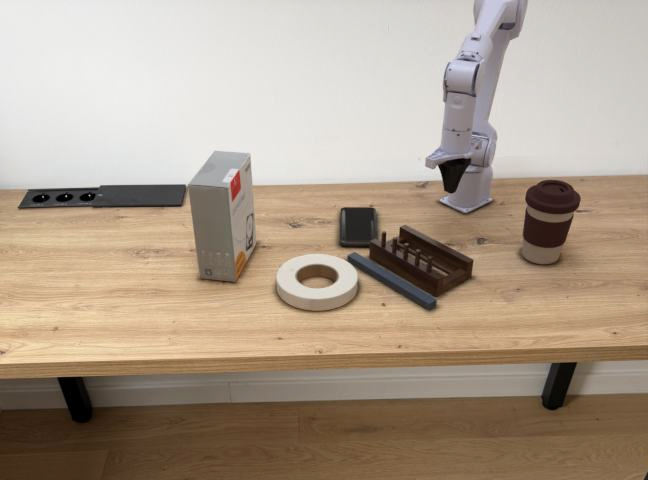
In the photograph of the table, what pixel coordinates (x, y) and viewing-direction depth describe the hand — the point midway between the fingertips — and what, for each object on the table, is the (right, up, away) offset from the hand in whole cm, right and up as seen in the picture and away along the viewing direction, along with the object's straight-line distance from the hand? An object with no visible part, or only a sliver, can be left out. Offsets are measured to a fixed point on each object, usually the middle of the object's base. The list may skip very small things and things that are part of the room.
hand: (449, 191), depth 139 cm
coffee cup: (+18, -14, -2) cm, 22 cm away
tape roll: (-27, -21, -9) cm, 35 cm away
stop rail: (-13, -19, -9) cm, 25 cm away
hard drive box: (-45, -14, -2) cm, 47 cm away
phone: (-18, -7, +7) cm, 21 cm away
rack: (-7, -16, -5) cm, 18 cm away
